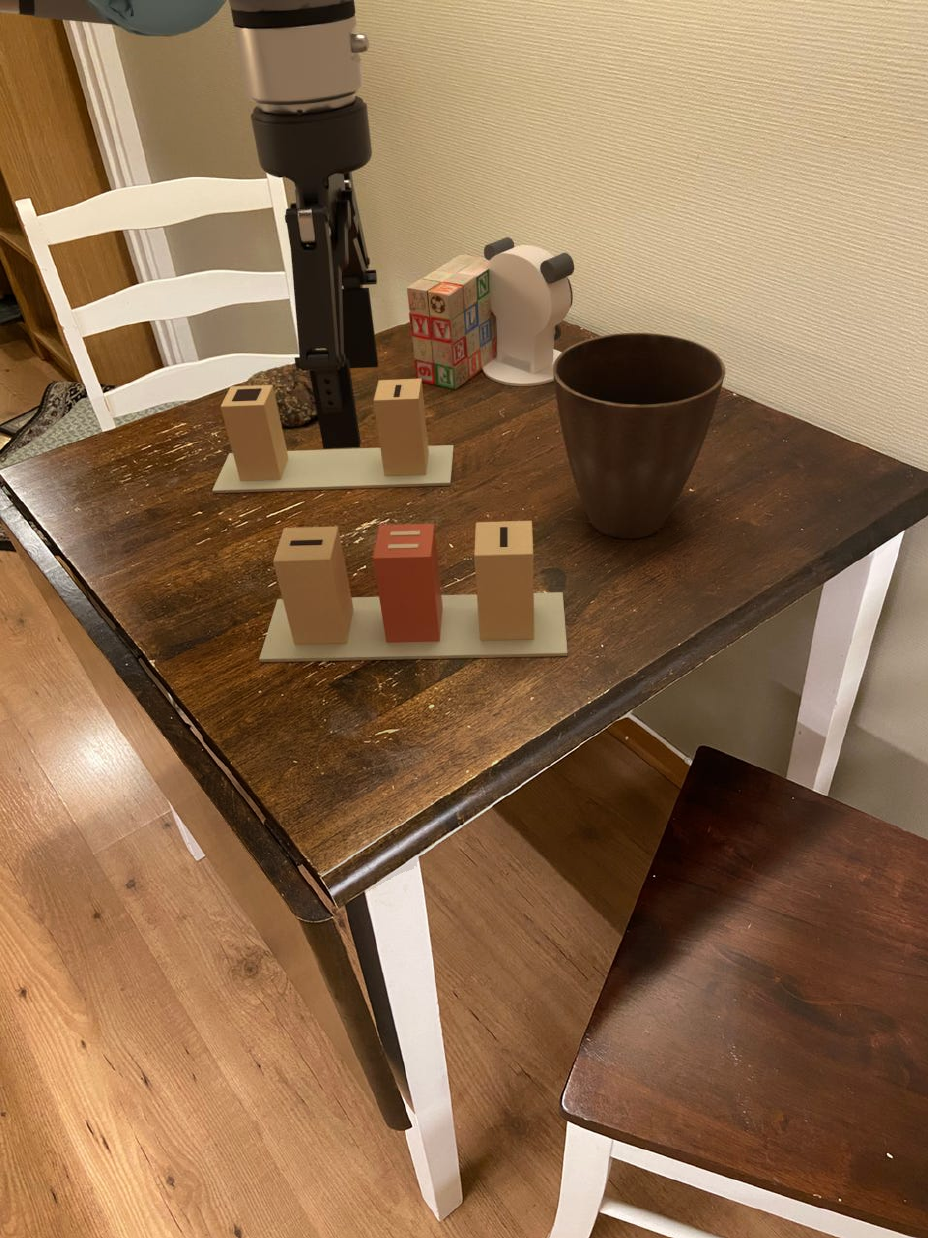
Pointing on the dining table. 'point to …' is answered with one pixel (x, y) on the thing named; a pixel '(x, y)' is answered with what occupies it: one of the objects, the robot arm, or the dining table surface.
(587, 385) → the flower pot
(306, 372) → the bread roll
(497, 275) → the panda figurine
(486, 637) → the front word
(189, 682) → the dining table surface
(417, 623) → the equals sign block
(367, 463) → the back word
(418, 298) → the stack of blocks
